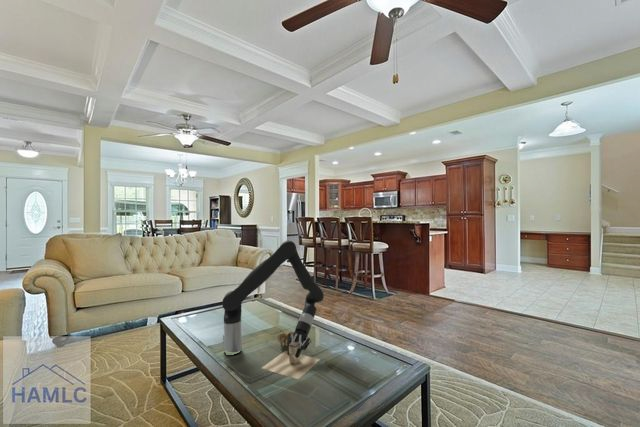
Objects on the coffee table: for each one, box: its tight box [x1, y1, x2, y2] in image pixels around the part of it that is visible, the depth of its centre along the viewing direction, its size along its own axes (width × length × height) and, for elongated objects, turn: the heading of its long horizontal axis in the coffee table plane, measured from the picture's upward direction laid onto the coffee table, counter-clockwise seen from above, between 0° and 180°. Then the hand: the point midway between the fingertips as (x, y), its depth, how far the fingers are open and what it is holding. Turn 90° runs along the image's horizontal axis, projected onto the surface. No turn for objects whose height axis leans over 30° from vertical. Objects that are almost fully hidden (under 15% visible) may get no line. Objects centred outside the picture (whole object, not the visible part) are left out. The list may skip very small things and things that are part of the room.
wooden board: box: [261, 350, 321, 380], centre depth 144 cm, size 22×20×1 cm
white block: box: [288, 342, 300, 364], centre depth 146 cm, size 4×4×9 cm
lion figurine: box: [277, 330, 295, 348], centre depth 167 cm, size 15×5×9 cm, turn 151°
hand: (292, 356), depth 144 cm, fingers closed on white block, 4 cm apart
